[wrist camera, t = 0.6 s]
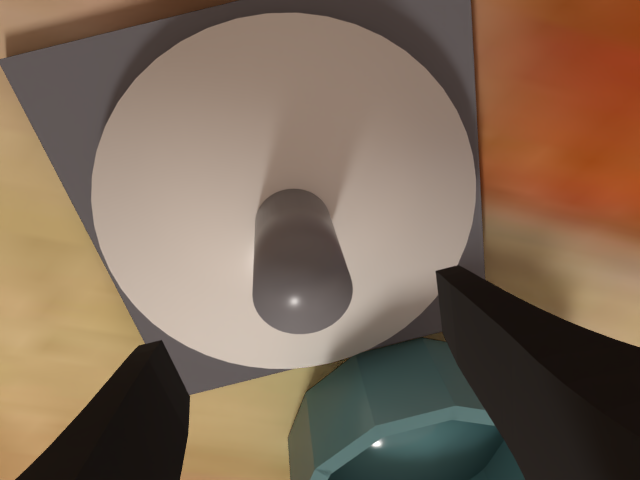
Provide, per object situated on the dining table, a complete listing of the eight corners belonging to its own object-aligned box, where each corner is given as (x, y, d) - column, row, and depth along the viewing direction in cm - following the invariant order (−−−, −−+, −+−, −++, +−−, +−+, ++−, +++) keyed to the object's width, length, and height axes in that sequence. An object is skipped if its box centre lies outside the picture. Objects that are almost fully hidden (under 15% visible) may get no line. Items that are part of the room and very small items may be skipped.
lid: (454, -36, 15) (554, -62, 10) (476, 314, 22) (542, 406, 17) (20, 72, 15) (-107, 101, 10) (180, 388, 22) (155, 503, 17)
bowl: (511, 314, 23) (564, 378, 19) (514, 472, 29) (555, 546, 25) (264, 376, 23) (265, 453, 19) (319, 522, 29) (328, 604, 25)
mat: (461, -54, 15) (467, -57, 15) (482, 314, 23) (487, 320, 22) (5, 58, 15) (-3, 59, 15) (175, 391, 22) (174, 398, 22)
